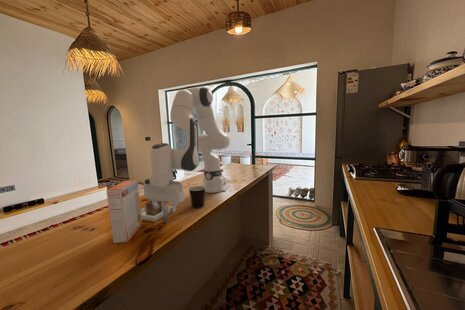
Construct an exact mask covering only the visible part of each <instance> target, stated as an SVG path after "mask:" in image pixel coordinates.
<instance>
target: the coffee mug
mask: <svg viewBox="0 0 465 310" xmlns="http://www.w3.org/2000/svg"><path fill="white" fill-rule="evenodd" d="M188 191H189V197H190V203H191V208H193V209H201V208H203V207H204V206H205V195H206V192H205V187H203V185H197V186H192V187H189V189H188Z"/></svg>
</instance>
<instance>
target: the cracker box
mask: <svg viewBox="0 0 465 310" xmlns="http://www.w3.org/2000/svg"><path fill="white" fill-rule="evenodd" d="M139 189H140V188H139V181H138V179H133V180H132V179H131V180H130V179H128V180H126V179H125V180H124V181H121V182H120V183H118V184H115V185H114V186H112V187H110V188H108V189H106V197H107V206H108V213H109V219H110V229H111V235H112V243H113V244H123V243H129V242H130V241H131V239H132V238H133V237H134V236H135V234H136V233H137V232H138V231H139V230H140V229H141V227H142V226H143V220H142V217H141V208H142V207H141V199H140V192H139V191H140V190H139Z"/></svg>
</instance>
